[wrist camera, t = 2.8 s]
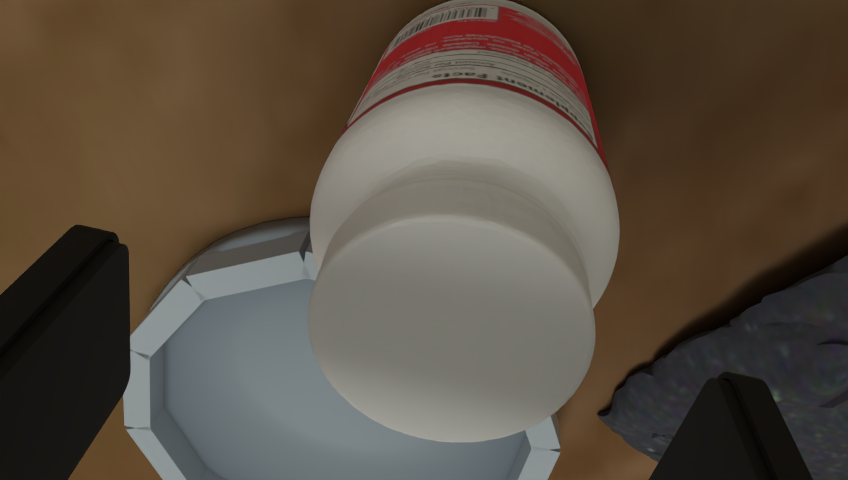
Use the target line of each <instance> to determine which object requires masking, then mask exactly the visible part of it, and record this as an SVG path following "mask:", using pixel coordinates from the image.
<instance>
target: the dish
mask: <svg viewBox="0 0 848 480" xmlns="http://www.w3.org/2000/svg"><path fill="white" fill-rule="evenodd" d="M318 273H319V271H318V268H317V265H316V262H315V260H314V256H313V251H312V245H311V238H310V217H298V218H288V219H282V220H276V221H270V222H264V223H261V224H257V225H254V226H251V227H248V228H245V229H241V230H238V231H236V232H234V233H232V234H229V235H227V236H225V237H223V238H221V239H219V240H217V241H215V242H213V243H212V244H210V245H209V246H207V247H206V248H204V249H203V250H201V251H200V252H198V253H197V254H195V255H194V256H193V257H192V258H191V259H190V260H189V261H188V262H187V263H186V264H185V265H183V266H182V267H181V268H180V269H179V270H178V271H177V273H176V274H175V276H174V277H173V278H172V280H171V281H170V282H169V284H168V285H167V286H166V288H165V289H164V291H163V292H162V293H161V295H160V296H159V297H158V299H157V300H156V301H155V303H154V304H153V306H152V307H151V309H150V311H149V312H148V313H147V314H146V315H145V316H144V317H143V319H142V320H141V321H140V322H139V323H138V324H137V326H136V327H135V329H134V330H133V331H132V333H131V334H130V360H131V372H130V378H129V382H128V385H127V388H126V390H125V392H124V394H123V399H124V423H125V426H128V428H127V429H126V430H127V432H128V433H129V434H130V436H131V437H132V438H133V440H134V441H135V442H136V444H137V445H138V446H139V448H140V449H141V451H142V452H143V453H144V455H145V456H146V457H147V459H148V460H149V461H150V463H151V464H152V465H153V467H154V468H155V470H156V471H157V472H158V474H159V475H160V476H161V478H162V479H163V480H547V479H548V477H549V475H550V473H551V471H552V469H553V467H554V465H555V463H556V461H557V459H558V456H559V454H560V448H561V446H560V431H559V421H558V418H557V415H556V412H555V413H554V414H552V415H551V416H549V417H548V418H546V419H544V420H543V421H541V422H540V423H538V424H537V425H535V426H533V427H531V428H529V429H526V430H524V431H521V432H518V433H516V434H513V435H509V436H506V437H503V438H498V439H492V440H487V441H481V442H441V441H433V440H428V439H422V438H419V437H415V436H411V435H407V434H404V433H401V432H399V431H396V430H393V429H390V428H388V427H386V426H384V425H382V424H380V423H378V422H376V421H374V420H372V419H371V418H369V417H368V416H366V415H365V414H363V413H362V412H360V411H359V410H357V409H356V408H354V407H353V406H352V405H351V404H350V403H349V402H348V401H347V400H346V399H344V398H343V397H342V396H341V395H340V394H339V393H338V392H337V391H336V389H335V388H334V387H333V386H332V385H331V383H330V382H329V380H328V379H327V378H326V376H325V374H324V373H323V371H322V369H321V368H320V366H319V364H318V362H317V360H316V358H315V356H314V353H313V349H312V346H311V341H310V337H309V329H308V307H309V300H310V296H311V293H312V289H313V286H314V283H315V280H316V278H317V275H318Z"/></svg>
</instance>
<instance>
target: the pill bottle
mask: <svg viewBox="0 0 848 480" xmlns="http://www.w3.org/2000/svg"><path fill="white" fill-rule="evenodd" d="M619 234H620V224H619V214H618V208H617V202H616V197H615V193H614V188H613V183H612V180H611V176H610V172H609V168H608V165H607V161H606V157H605V153H604V150H603V146H602V142H601V138H600V134H599V131H598V127H597V123H596V119H595V115H594V112H593V108H592V105H591V101H590V98H589V94H588V90H587V86H586V82H585V79H584V76H583V72H582V70H581V67H580V64H579V62H578V59H577V57H576V55H575V53H574V52H573V50H572V48H571V47H570V45H569V43H568V42H567V40H566V39H565V38H564V37H563V35H562V34H561V33H560V32H559V31H558V30H557V29H556V28H555V26H553V25H552V24H551V23H550V22H549V21H548V20H546V19H545V18H544V17H542V16H541V15H539V14H538V13H536V12H534V11H532V10H530V9H529V8H527V7H525V6H522V5H520V4H517V3H515V2H511V1H508V0H451V1H448V2H445V3H442V4H439V5H437V6H435V7H433V8H431V9H428V10H427V11H425V12H423V13H422V14H420V15H419V16H417V17H416V18H414V19H413V20H412V21H411V22H409V23H408V24H407V25H406V26H405V27H404V28H403V29H402V30H401V31H400V32H399V33H398V34H397V35H396V37H395V38H394V39H393V40H392V42H391V43H390V44H389V46H388V48H387V49H386V51H385V52H384V54H383V56H382V57H381V59H380V61H379V63H378V65H377V67H376V69H375V71H374V73H373V75H372V77H371V79H370V81H369V83H368V84H367V86H366V88H365V90H364V92H363V94H362V96H361V98H360V100H359V102H358V104H357V105H356V107H355V109H354V111H353V113H352V115H351V117H350V119H349V121H348V122H347V124H346V126H345V128H344V130H343V132H342V133H341V135H340V137H339V139H338V141H337V142H336V144H335V146H334V148H333V149H332V151H331V153H330V155H329V157H328V159H327V160H326V162H325V164H324V167H323V169H322V171H321V173H320V176H319V179H318V181H317V184H316V187H315V191H314V195H313V198H312V202H311V212H310V238H311V245H312V251H313V256H314V260H315V262H316V265H317V268H318V271H319V273H318V275H317V278H316V280H315V283H314V286H313V289H312V293H311V296H310V300H309V307H308V329H309V337H310V341H311V346H312V349H313V353H314V356H315V358H316V360H317V362H318V364H319V366H320V368H321V369H322V371H323V373H324V374H325V376H326V378H327V379H328V380H329V382H330V383H331V385H332V386H333V387H334V388H335V389H336V391H337V392H338V393H339V394H340V395H341V396H342V397H343V398H344V399H346V400H347V401H348V402H349V403H350V404H351V405H352V406H353V407H354V408H356V409H357V410H359V411H360V412H362V413H363V414H365V415H366V416H368V417H369V418H371V419H372V420H374V421H376V422H378V423H380V424H382V425H384V426H386V427H388V428H390V429H393V430H396V431H399V432H401V433H404V434H407V435H411V436H415V437H419V438H422V439H428V440H433V441H441V442H481V441H487V440H492V439H498V438H503V437H506V436H509V435H513V434H516V433H518V432H521V431H524V430H526V429H529V428H531V427H533V426H535V425H537V424H538V423H540V422H541V421H543V420H544V419H546V418H548V417H549V416H551V415H552V414H554V413H555V412H556V411H558V410H559V408H560V407H562V406H563V405H564V404H565V403H566V402H567V401H568V399H569V398H571V397H572V396H573V394H574V393H575V392H576V390H577V389H578V387H579V385H580V384H581V382H582V380H583V379H584V377H585V375H586V373H587V371H588V369H589V366H590V363H591V360H592V356H593V352H594V347H595V319H594V313H593V308H594V307H595V305H596V304H597V302H598V301H599V299H600V298H601V296H602V294H603V293H604V291H605V289H606V287H607V285H608V283H609V280H610V278H611V275H612V272H613V269H614V266H615V262H616V259H617V254H618V245H619Z"/></svg>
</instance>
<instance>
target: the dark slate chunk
mask: <svg viewBox="0 0 848 480" xmlns="http://www.w3.org/2000/svg"><path fill="white" fill-rule="evenodd" d="M723 372H732V373H737V374H741V375H745V376H750V377H754V378H759V379H761V380H763V381H765V383H766V384H767V386H768V388H769V390H770V392H771V394H772V396H773V398H774V400H775V402H776V404H777V406H778V408H779V410H780V412H781V414H782V416H783V419H784V421H785V423H786V425H787V427H788V429H789V431H790V433H791V435H792V437H793V439H794V441H795V443H796V445H797V447H798V449H799V451H800V454H801V456H802V458H803V460H804V462H805V464H806V466H807V468H808V470H809V472H810V474H811V476H812V478H813V480H848V255H847V256H845V257H843V258H841V259H840V260H838V261H836V262H834V263H833V264H831V265H830V266H828V267H826V268H824V269H822V270H820V271H818V272H816V273H814V274H811V275H809V276H807V277H805V278H803V279H801V280H800V281H798V282H796V283H795V284H793V285H791V286H790V287H788V288H786V289H784V290H782V291H779V292H777V293H774V294H770V295H767V296H765V297H763V299H762V302H761V303H759V304H757V305H754V306H752V307H750V308H748V309H746V310H745V311H744V312H743V313H741V314H740V315H738V316H737V317H735V318H733V319H731V320H730V323H728V324H726V325H724V326H722V327H720V328H718V329H715V330H711V331H706V332H702V333H699V334H697V335H695V336H693V337H691V338H689V339H687V340H685V341H683V342H681V343H679V344H678V345H677V346H676V347H675V348H674V349H673V350H671V351H670V353H668V354H665V355H663V356H662V357H661V358H659V359H658V360H656V361H655V362H654V363H653V364H652V365H651V366H649V367H648V368H645V369H642V370H640V371H638V372H636V373H635V374H633V375H631V376H630V377H628V378H627V380H626V382H625V384H624V386H623V387H622V388H620V389H619V390H617V391H616V392H615V394H614V396H613V400H612V405H611V408H610V409H609V410H606V411H603V412H600V413H599V414H597V415H598V416H599V418H600V419H601V420H602V421H603V422H604V423H606V424H607V425H608V426H609V427H610V428H611V429H612V430H613V432H615V433H617V434H619V435H621V436H622V437H623V439H624V440H625V441H626V442H627V443H628V444H629V445H630V446H632V447H633V448H635V449H636V450H638V451H640V452H642V453H644V454H646V455H647V456H649V457H650V458H652V459H654V460H655V461H658V462H659V461H660V460H661V458H662V456H663V454H664V453H665V451H666V449H667V448H668V446H669V444H670V442H671V441H672V439H673V437H674V436H675V434H676V432H677V430H678V429H679V427H680V425H681V424H682V422H683V420H684V418H685V417H686V415H687V413H688V412H689V410H690V408H691V406H692V405H693V403H694V401H695V400H696V398H697V396H698V394H699V393H700V391H701V389H702V388H703V386H704V384H705V383H706V381H707V380H708V379H710V378H717V377H718V376H719V375H720V374H721V373H723Z"/></svg>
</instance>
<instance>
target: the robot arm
mask: <svg viewBox="0 0 848 480" xmlns="http://www.w3.org/2000/svg"><path fill="white" fill-rule="evenodd" d="M130 372H131V360H130V300H129V252H128V248H127V246H126V245H125V244H120V243H119V239H118V237H117V234H115V233H114V232H109V231H105V230H101V229H96V228H92V227H87V226H83V225H75V226H73V227H72V228H70V229H69V230H68V231H67V232H66V233H65V234H64V235H63V236H62V237H61V238H60V239H59V240H58V241H57V242H56V243H55V244H54V245H52V246H51V247H50V248H49V249H48V250H47V251H46V252H45V253H44V254H43V255H42V256H41V257H40V258H39V259H38V260H37V261H36V262H35V263H34V264H33V265H31V266H30V267H29V268H28V269H27V270H26V271H25V272H24V273H23V274H22V275H21V276H20V277H19V278H18V279H17V280H16V281H15V282H14V283H13V284H12V285H10V286H9V287H8V288H7V289H6V290H5V291H4V292H3V293H2V294H1V295H0V480H68V478H69V477H70V475H71V474H72V472H73V471H74V469H75V468H76V466H77V464H78V463H79V461H80V460H81V458H82V457H83V455H84V454H85V452H86V451H87V449H88V448H89V446H90V445H91V443H92V441H93V440H94V438H95V437H96V435H97V434H98V432H99V431H100V429H101V428H102V426H103V425H104V423H105V422H106V420H107V418H108V417H109V415H110V414H111V412H112V411H113V409H114V408H115V406H116V405H117V403H118V402H119V400H120V399H121V397H122V395H123V394H124V392H125V390H126V388H127V385H128V382H129V378H130ZM649 480H813V478H812V476H811V474H810V472H809V470H808V468H807V466H806V464H805V462H804V460H803V458H802V456H801V454H800V451H799V449H798V447H797V445H796V443H795V441H794V439H793V437H792V435H791V433H790V431H789V429H788V427H787V425H786V423H785V421H784V419H783V416H782V414H781V412H780V410H779V408H778V406H777V404H776V402H775V400H774V398H773V396H772V394H771V392H770V390H769V388H768V386H767V384H766V383H765V381H763V380H761V379H759V378H754V377H750V376H745V375H741V374H737V373H732V372H723V373H721V374H720V375H719V376H718V377H717V378H710V379H708V380H707V381H706V383H705V384H704V386H703V388H702V389H701V391H700V393H699V394H698V396H697V398H696V400H695V401H694V403H693V405H692V406H691V408H690V410H689V412H688V413H687V415H686V417H685V418H684V420H683V422H682V424H681V425H680V427H679V429H678V430H677V432H676V434H675V436H674V437H673V439H672V441H671V442H670V444H669V446H668V448H667V449H666V451H665V453H664V454H663V456H662V458H661V460H660V461H659V463H658V465H657V466H656V468H655V470H654V472H653V473H652V475H651V477H650V478H649Z"/></svg>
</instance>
